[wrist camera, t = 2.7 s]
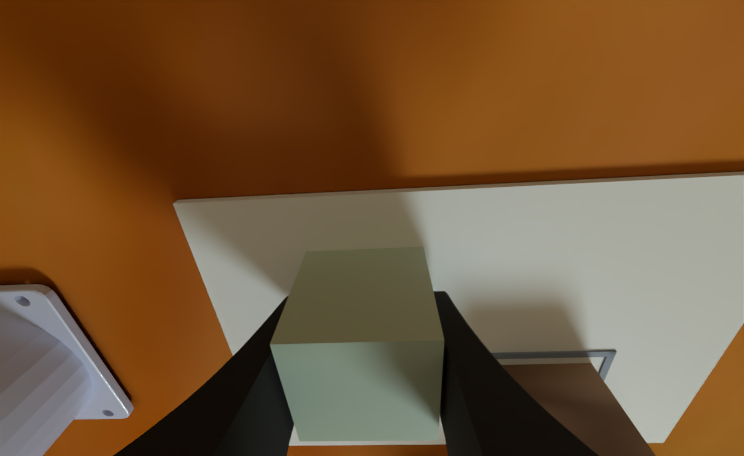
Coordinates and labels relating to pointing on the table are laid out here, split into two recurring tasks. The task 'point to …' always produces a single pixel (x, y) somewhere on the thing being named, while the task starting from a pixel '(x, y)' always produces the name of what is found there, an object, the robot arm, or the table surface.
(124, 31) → the table surface
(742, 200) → the board
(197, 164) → the table surface
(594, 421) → the walnut block
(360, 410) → the sage block
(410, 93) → the table surface
